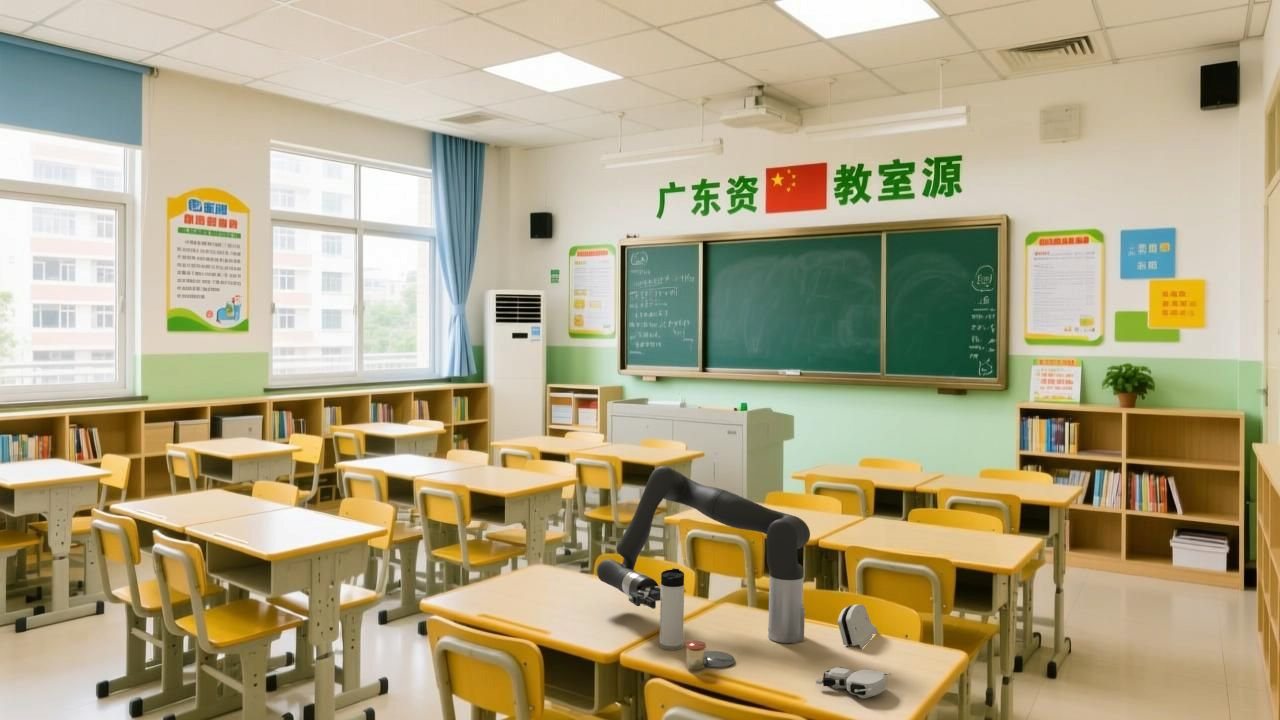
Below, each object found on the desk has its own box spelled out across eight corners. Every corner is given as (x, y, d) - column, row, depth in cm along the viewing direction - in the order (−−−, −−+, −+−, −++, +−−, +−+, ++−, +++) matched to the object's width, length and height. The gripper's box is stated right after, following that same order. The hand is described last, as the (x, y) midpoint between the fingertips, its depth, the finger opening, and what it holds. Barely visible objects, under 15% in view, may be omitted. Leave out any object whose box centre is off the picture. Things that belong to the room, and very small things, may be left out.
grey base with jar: (710, 651, 229) (711, 626, 229) (742, 660, 223) (742, 635, 223) (673, 666, 218) (673, 641, 218) (705, 677, 211) (705, 651, 211)
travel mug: (686, 643, 235) (687, 569, 234) (679, 651, 229) (680, 575, 228) (663, 640, 237) (665, 567, 236) (656, 648, 231) (657, 573, 230)
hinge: (862, 650, 232) (850, 612, 234) (845, 652, 234) (834, 616, 236) (878, 632, 247) (867, 597, 248) (862, 635, 249) (851, 600, 250)
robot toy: (812, 694, 205) (874, 707, 196) (812, 675, 205) (873, 686, 196) (835, 678, 214) (894, 690, 205) (834, 660, 215) (893, 670, 205)
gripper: (617, 577, 245) (645, 592, 231) (661, 571, 252) (691, 585, 238) (617, 603, 245) (645, 620, 231) (661, 597, 252) (691, 613, 238)
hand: (668, 602), depth 234 cm, fingers open, 8 cm apart
